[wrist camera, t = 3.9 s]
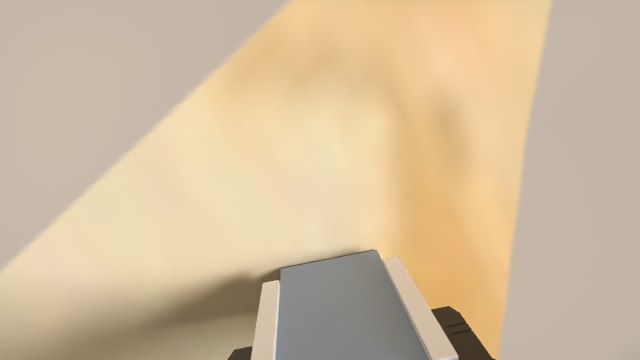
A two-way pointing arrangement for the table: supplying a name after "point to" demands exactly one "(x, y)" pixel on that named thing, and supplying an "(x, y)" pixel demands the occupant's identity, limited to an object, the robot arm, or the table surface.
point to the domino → (343, 313)
